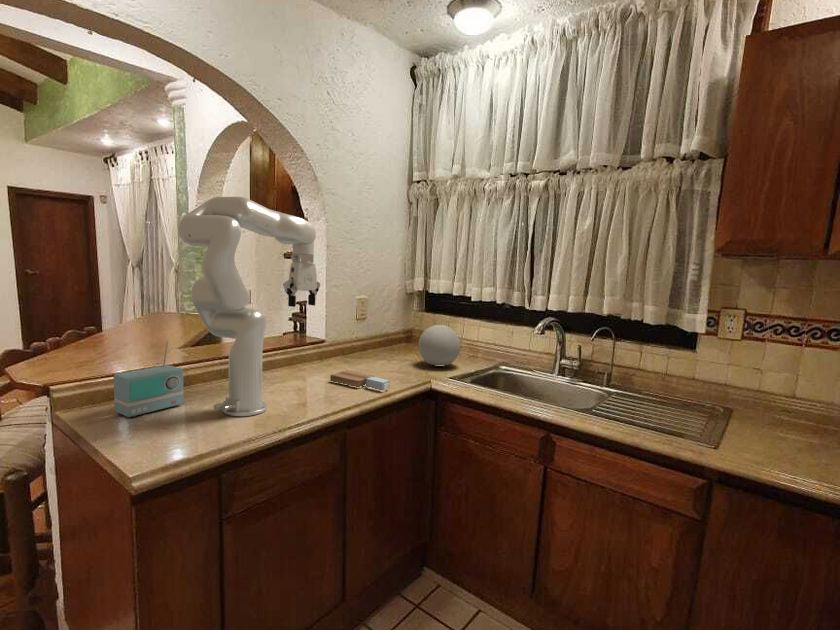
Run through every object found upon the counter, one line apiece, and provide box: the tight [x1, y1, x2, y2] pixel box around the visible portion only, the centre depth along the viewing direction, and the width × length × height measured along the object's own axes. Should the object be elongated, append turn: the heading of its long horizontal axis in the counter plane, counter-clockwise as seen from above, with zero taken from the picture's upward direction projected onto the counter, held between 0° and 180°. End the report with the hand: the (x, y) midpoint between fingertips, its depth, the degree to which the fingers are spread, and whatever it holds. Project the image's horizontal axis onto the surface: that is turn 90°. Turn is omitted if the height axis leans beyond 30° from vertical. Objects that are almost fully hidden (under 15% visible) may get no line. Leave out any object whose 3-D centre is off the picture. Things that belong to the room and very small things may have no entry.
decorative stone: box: [418, 324, 461, 366], centre depth 202 cm, size 20×20×20 cm
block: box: [365, 376, 390, 390], centre depth 160 cm, size 4×4×8 cm
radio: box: [113, 340, 184, 418], centre depth 126 cm, size 16×9×20 cm, turn 149°
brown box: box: [329, 369, 376, 387], centre depth 167 cm, size 10×14×3 cm
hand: (302, 305), depth 158 cm, fingers open, 9 cm apart
